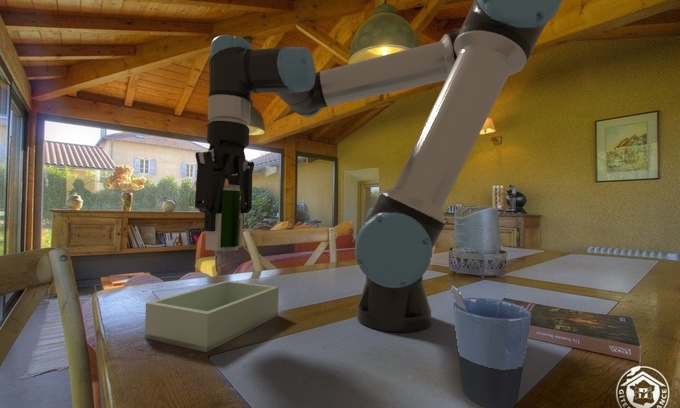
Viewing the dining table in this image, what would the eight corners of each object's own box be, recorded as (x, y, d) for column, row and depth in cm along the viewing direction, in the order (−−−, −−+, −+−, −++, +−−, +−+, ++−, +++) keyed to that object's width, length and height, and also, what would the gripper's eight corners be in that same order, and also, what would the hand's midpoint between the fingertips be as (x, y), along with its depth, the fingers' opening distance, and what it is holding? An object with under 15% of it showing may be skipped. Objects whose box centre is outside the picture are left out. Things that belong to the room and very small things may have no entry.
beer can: (216, 252, 57) (219, 183, 57) (203, 249, 61) (206, 184, 61) (244, 250, 61) (246, 186, 61) (230, 247, 65) (232, 186, 65)
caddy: (278, 315, 70) (278, 287, 70) (206, 352, 51) (207, 314, 51) (226, 307, 75) (227, 280, 75) (144, 337, 57) (145, 303, 57)
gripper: (243, 136, 71) (239, 242, 71) (173, 111, 54) (167, 252, 54) (272, 134, 69) (269, 245, 68) (209, 107, 51) (203, 255, 51)
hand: (224, 247), depth 61 cm, fingers closed on beer can, 5 cm apart
